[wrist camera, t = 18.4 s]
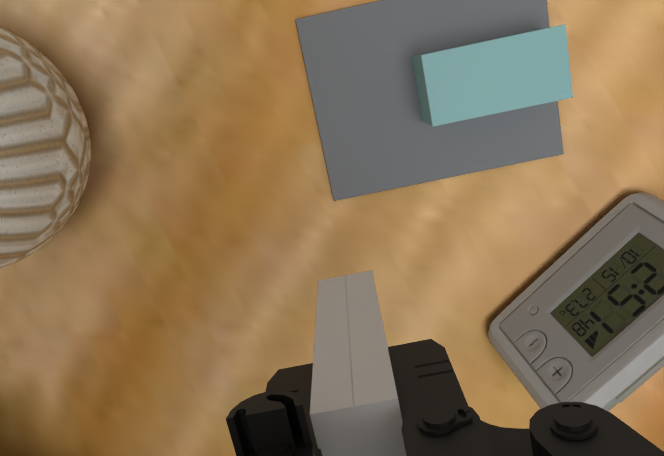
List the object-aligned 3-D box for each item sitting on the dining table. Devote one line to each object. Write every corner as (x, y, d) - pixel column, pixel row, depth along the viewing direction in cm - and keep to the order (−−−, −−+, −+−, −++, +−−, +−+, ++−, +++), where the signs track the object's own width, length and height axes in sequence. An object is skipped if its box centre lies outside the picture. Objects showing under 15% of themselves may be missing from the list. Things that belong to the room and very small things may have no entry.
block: (432, 126, 38) (575, 97, 38) (421, 55, 37) (567, 23, 37) (422, 120, 43) (550, 94, 42) (411, 56, 42) (542, 28, 41)
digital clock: (644, 177, 44) (738, 209, 34) (699, 271, 46) (804, 328, 36) (459, 296, 47) (495, 360, 36) (518, 381, 49) (569, 464, 38)
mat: (334, 199, 45) (334, 200, 44) (295, 19, 41) (295, 19, 41) (561, 153, 44) (563, 154, 43) (540, -35, 40) (542, -36, 40)
